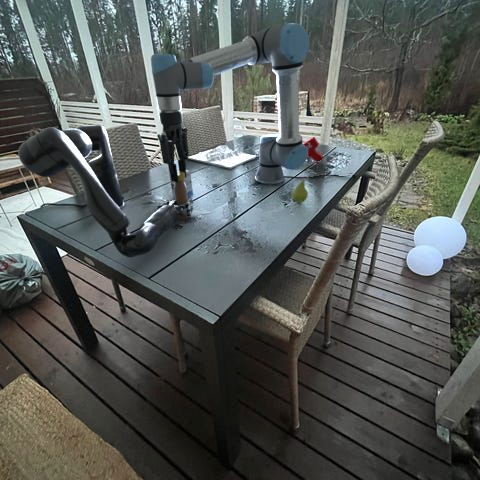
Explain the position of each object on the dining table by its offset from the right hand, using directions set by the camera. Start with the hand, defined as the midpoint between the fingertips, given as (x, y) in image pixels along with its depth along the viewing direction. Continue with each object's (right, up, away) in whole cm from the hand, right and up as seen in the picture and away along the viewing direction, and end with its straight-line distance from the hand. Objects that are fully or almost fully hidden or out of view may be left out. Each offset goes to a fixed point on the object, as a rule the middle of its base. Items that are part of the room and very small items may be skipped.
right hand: (179, 178), depth 102 cm
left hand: (+1, -7, +7) cm, 10 cm away
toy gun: (+64, +27, +70) cm, 99 cm away
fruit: (+50, -6, +20) cm, 54 cm away
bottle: (0, -14, +9) cm, 16 cm away
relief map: (+11, +31, +77) cm, 84 cm away
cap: (0, +1, -1) cm, 2 cm away
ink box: (-4, -3, +26) cm, 26 cm away
